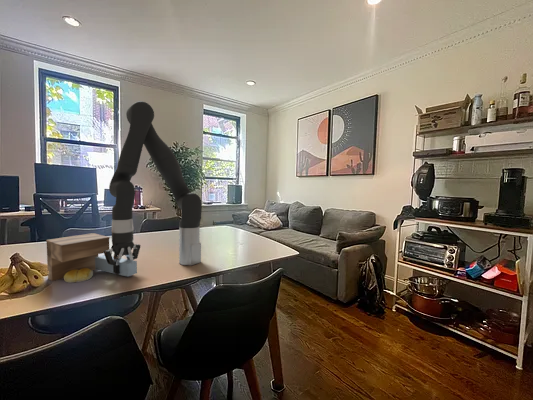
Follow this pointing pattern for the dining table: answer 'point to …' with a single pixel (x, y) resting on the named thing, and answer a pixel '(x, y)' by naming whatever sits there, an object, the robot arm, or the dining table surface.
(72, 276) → the bread roll
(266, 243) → the dining table surface
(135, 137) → the robot arm
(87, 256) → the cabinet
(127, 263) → the batten
